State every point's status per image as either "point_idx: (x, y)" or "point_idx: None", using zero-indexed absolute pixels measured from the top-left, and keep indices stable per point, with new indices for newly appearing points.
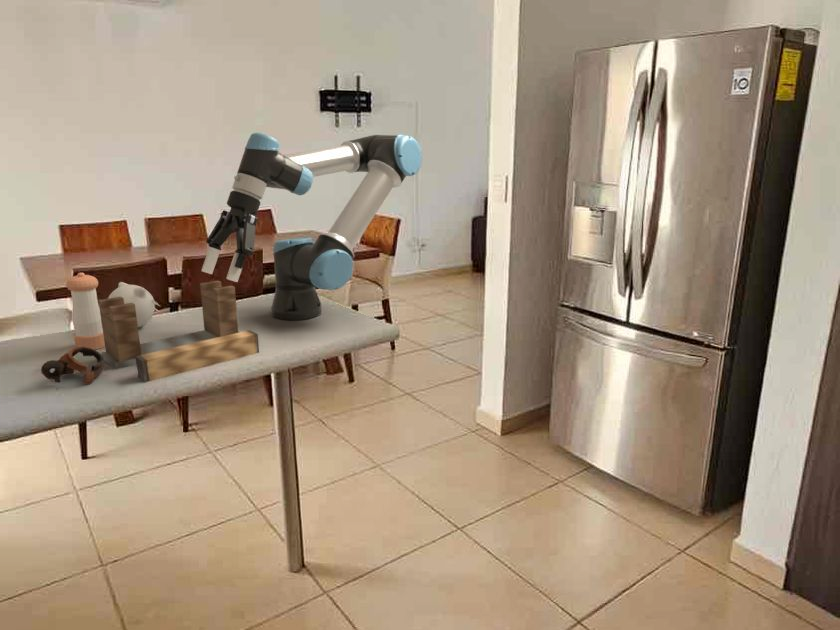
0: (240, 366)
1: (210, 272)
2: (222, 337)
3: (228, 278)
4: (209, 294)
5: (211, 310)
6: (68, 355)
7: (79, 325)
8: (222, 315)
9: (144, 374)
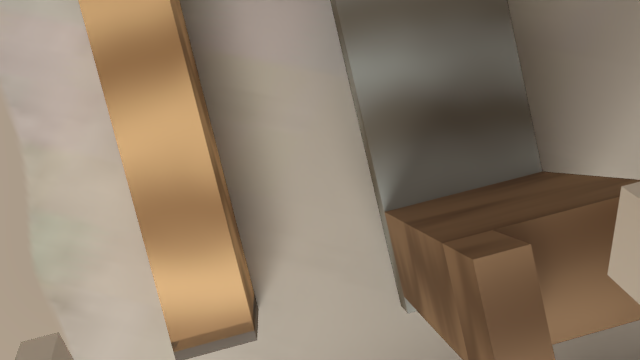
0: (57, 217)
1: (620, 265)
2: (200, 190)
3: (23, 357)
4: None
5: (504, 207)
6: None
7: None
8: (419, 248)
9: None
